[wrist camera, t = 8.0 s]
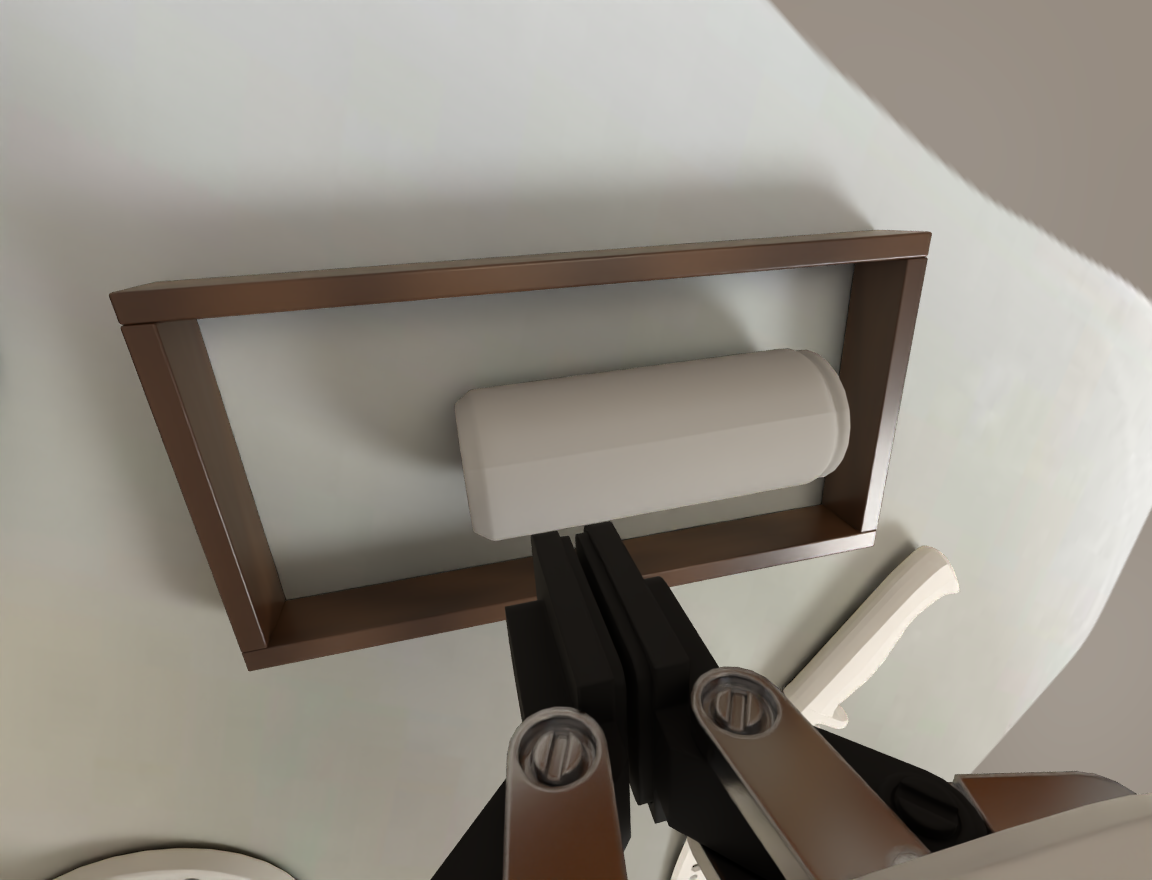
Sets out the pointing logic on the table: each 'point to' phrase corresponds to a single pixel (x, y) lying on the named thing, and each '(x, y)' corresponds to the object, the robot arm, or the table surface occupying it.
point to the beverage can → (647, 439)
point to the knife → (858, 650)
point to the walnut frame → (480, 594)
